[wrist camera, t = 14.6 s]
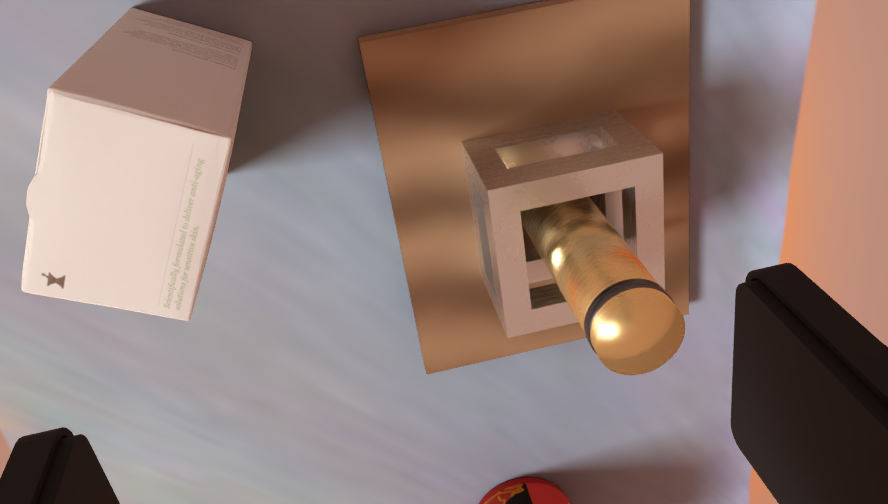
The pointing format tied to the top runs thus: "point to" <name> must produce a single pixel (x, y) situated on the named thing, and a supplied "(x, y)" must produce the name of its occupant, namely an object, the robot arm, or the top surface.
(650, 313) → the brass tube
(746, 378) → the robot arm
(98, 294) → the skincare box
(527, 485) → the canned food
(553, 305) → the collar cage
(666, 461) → the top surface
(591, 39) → the stand board
